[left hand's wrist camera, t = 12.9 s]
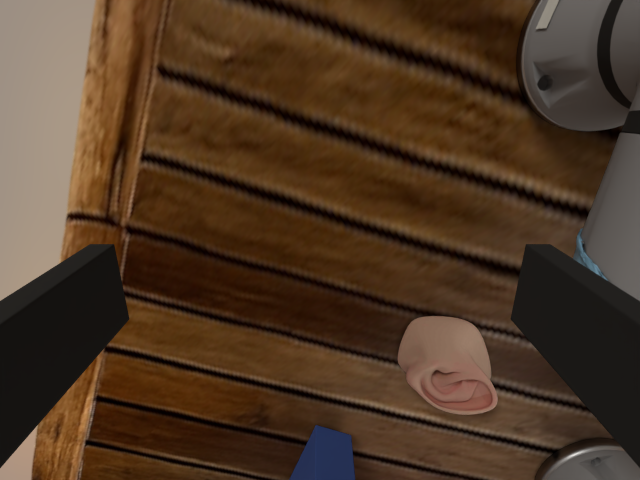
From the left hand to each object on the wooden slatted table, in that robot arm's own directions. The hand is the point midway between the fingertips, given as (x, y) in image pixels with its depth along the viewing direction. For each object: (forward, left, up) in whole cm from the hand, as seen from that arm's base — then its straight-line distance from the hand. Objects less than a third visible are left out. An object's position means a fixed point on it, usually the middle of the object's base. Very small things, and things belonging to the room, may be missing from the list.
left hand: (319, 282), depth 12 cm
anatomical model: (-22, +20, -29) cm, 41 cm away
